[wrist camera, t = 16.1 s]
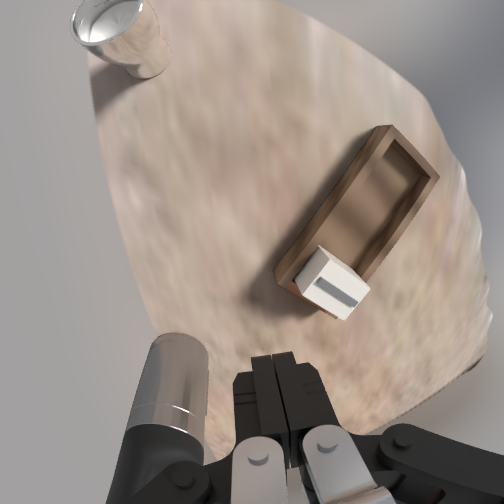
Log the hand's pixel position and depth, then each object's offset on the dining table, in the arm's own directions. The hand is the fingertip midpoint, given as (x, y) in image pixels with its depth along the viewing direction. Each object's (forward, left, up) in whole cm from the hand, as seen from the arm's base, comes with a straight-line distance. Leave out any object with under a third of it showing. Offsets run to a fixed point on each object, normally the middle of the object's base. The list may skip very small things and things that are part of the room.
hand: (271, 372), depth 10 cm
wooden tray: (-6, -14, -28) cm, 32 cm away
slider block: (-11, -7, -26) cm, 29 cm away
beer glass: (+23, +3, -28) cm, 37 cm away
